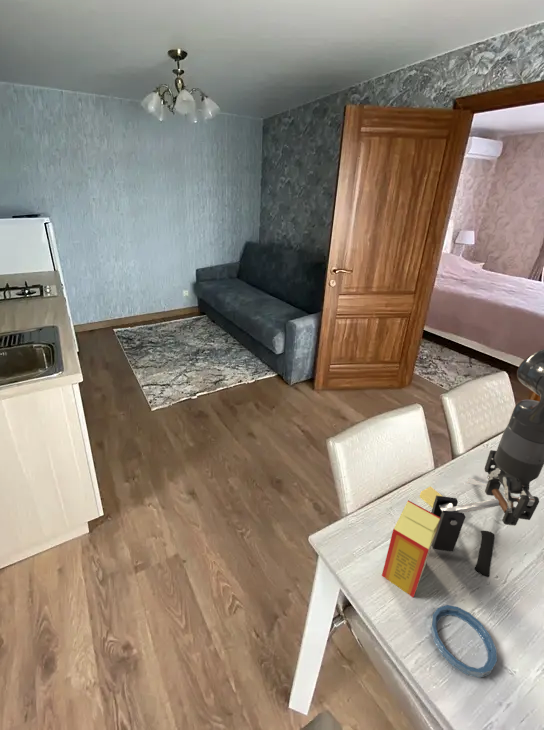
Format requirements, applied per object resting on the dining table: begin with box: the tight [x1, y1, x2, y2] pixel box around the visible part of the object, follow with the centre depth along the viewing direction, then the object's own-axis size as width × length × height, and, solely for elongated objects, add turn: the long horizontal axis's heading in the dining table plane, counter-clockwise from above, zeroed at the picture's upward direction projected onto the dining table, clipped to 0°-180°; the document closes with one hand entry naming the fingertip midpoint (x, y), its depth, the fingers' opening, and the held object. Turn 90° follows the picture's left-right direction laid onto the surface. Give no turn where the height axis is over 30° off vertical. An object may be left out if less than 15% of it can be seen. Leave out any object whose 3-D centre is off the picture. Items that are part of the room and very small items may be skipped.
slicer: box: [430, 495, 466, 553], centre depth 81 cm, size 10×8×13 cm
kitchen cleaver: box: [466, 477, 507, 578], centre depth 88 cm, size 31×2×10 cm
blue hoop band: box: [429, 604, 498, 679], centre depth 64 cm, size 10×10×3 cm
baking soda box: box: [381, 500, 440, 598], centre depth 74 cm, size 10×6×16 cm
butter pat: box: [419, 485, 443, 509], centre depth 93 cm, size 4×4×3 cm
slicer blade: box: [439, 489, 508, 514], centre depth 77 cm, size 13×6×2 cm, turn 80°
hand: (498, 508), depth 76 cm, fingers open, 7 cm apart
